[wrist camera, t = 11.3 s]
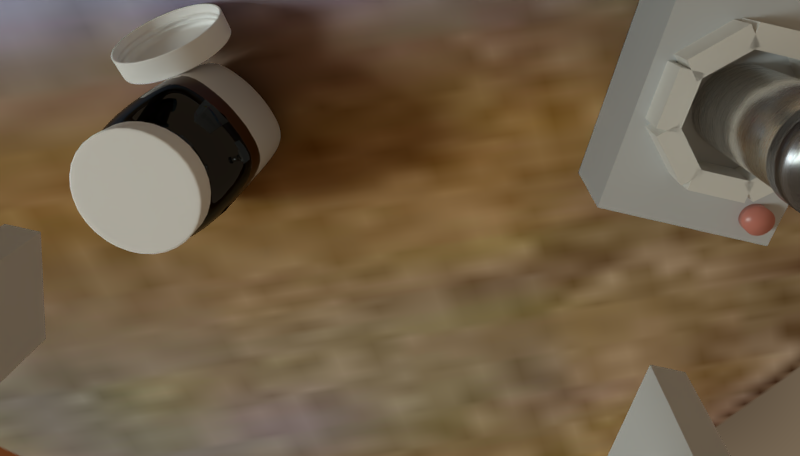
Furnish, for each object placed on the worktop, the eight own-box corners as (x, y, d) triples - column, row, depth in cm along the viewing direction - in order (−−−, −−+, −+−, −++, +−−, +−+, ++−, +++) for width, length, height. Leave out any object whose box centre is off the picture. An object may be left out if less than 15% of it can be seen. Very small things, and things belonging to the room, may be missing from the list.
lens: (670, 109, 33) (756, 168, 24) (747, 40, 31) (872, 73, 22) (727, 168, 34) (831, 246, 25) (805, 104, 32) (947, 162, 23)
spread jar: (208, 215, 44) (131, 299, 34) (84, 94, 41) (-42, 144, 31) (329, 110, 41) (285, 167, 30) (202, -33, 38) (103, -25, 27)
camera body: (659, -56, 35) (713, -58, 28) (830, -16, 35) (928, -7, 28) (578, 172, 41) (605, 221, 34) (725, 206, 41) (783, 262, 34)
